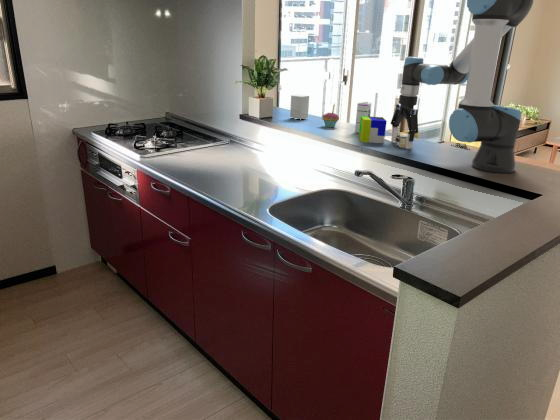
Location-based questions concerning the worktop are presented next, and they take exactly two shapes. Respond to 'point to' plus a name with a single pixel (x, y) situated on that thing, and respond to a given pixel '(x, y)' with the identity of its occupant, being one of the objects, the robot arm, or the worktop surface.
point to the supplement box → (299, 106)
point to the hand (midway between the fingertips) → (401, 145)
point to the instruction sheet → (388, 138)
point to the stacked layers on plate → (401, 139)
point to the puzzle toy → (372, 129)
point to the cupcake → (330, 118)
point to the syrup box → (362, 113)
